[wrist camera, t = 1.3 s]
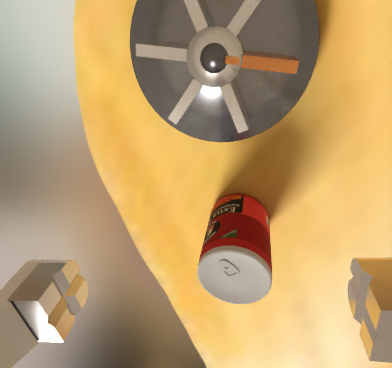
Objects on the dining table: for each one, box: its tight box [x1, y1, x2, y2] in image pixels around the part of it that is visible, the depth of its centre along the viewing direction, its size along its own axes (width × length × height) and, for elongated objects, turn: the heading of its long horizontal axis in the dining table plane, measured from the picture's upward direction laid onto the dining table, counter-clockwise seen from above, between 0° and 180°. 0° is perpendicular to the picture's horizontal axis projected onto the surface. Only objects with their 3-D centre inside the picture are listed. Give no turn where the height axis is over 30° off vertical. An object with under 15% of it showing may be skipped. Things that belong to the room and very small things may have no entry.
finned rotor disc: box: [136, 0, 299, 133], centre depth 26 cm, size 14×13×4 cm
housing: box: [130, 0, 319, 142], centre depth 27 cm, size 18×18×4 cm
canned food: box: [198, 194, 272, 304], centre depth 34 cm, size 8×8×11 cm
